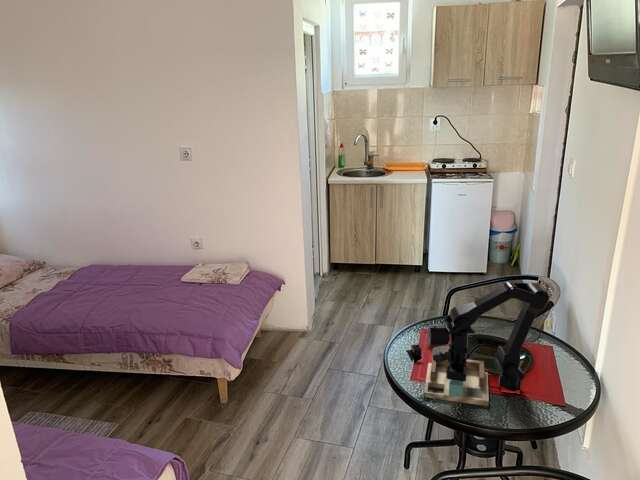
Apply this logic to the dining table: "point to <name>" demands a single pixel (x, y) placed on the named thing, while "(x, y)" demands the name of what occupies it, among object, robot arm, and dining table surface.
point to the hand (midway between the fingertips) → (456, 382)
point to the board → (470, 387)
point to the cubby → (471, 365)
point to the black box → (414, 353)
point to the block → (456, 388)
